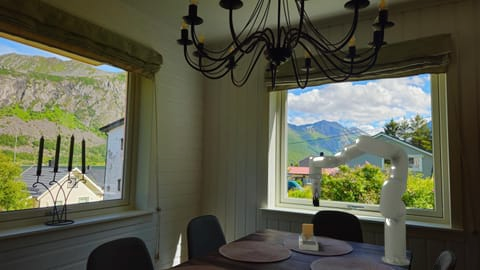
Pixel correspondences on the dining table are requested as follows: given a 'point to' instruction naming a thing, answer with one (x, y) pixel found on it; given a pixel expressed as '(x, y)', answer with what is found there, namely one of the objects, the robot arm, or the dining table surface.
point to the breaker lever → (307, 230)
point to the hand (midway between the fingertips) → (315, 205)
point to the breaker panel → (308, 243)
